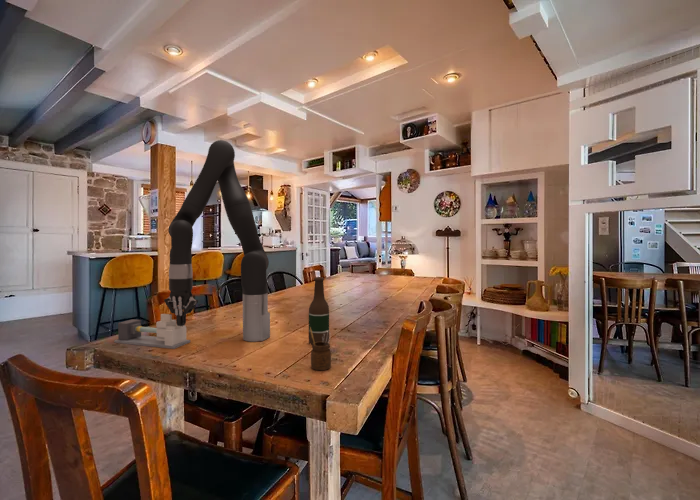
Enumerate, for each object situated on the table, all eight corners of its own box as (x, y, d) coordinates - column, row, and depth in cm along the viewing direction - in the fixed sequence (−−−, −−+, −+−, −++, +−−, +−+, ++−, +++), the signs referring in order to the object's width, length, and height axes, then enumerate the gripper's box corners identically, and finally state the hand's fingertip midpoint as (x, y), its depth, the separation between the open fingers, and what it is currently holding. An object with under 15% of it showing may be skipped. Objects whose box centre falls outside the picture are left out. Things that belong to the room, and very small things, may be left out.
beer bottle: (333, 340, 129) (333, 276, 128) (323, 346, 122) (323, 279, 121) (315, 338, 132) (315, 275, 132) (304, 343, 125) (304, 277, 124)
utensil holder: (331, 370, 100) (331, 329, 100) (309, 371, 99) (309, 329, 99) (330, 363, 106) (331, 324, 105) (310, 363, 105) (310, 324, 105)
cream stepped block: (176, 337, 126) (175, 313, 126) (165, 340, 121) (165, 316, 121) (167, 336, 127) (166, 312, 127) (156, 340, 122) (156, 315, 122)
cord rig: (190, 342, 126) (190, 322, 126) (173, 348, 119) (173, 328, 118) (133, 336, 133) (133, 318, 133) (114, 342, 126) (114, 322, 125)
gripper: (204, 276, 124) (204, 324, 124) (173, 275, 127) (173, 321, 128) (189, 278, 117) (189, 329, 117) (157, 277, 120) (157, 326, 121)
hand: (181, 325), depth 122 cm, fingers closed
